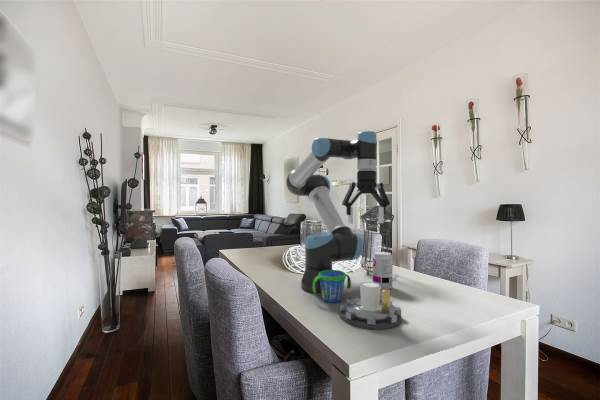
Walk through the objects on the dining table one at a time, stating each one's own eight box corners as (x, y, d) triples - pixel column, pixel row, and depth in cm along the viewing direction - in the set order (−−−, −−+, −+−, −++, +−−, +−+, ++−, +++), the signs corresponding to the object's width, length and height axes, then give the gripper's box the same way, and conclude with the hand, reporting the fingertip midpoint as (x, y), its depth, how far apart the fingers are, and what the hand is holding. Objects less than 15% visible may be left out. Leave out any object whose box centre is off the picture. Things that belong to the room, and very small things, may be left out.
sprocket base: (329, 320, 95) (329, 317, 95) (351, 301, 113) (351, 298, 113) (394, 335, 86) (394, 332, 86) (406, 311, 103) (406, 308, 103)
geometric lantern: (393, 272, 156) (395, 205, 154) (389, 280, 142) (391, 207, 140) (363, 268, 163) (364, 204, 161) (356, 276, 148) (358, 205, 147)
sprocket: (372, 330, 86) (372, 299, 85) (328, 308, 102) (328, 282, 102) (413, 315, 97) (414, 287, 97) (367, 297, 113) (368, 274, 113)
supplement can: (371, 289, 128) (371, 254, 127) (374, 283, 135) (374, 250, 135) (391, 291, 125) (391, 255, 124) (392, 286, 132) (393, 252, 132)
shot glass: (381, 310, 95) (381, 288, 95) (359, 308, 97) (359, 286, 96) (380, 302, 102) (380, 282, 102) (359, 301, 103) (359, 280, 103)
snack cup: (316, 306, 108) (316, 278, 107) (308, 296, 118) (308, 270, 118) (356, 302, 111) (356, 275, 111) (345, 293, 122) (345, 268, 121)
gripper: (341, 168, 114) (341, 224, 114) (399, 170, 120) (398, 223, 121) (334, 170, 121) (333, 222, 121) (388, 172, 128) (388, 221, 128)
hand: (365, 223), depth 121 cm, fingers open, 13 cm apart
